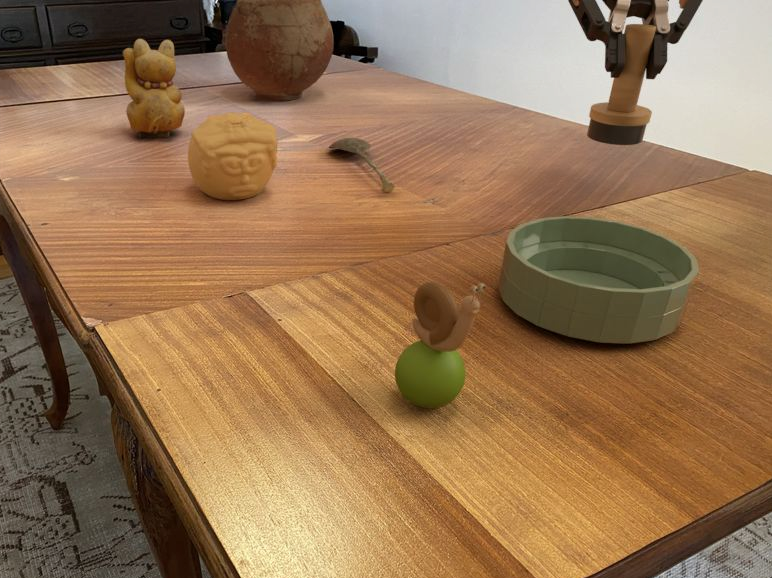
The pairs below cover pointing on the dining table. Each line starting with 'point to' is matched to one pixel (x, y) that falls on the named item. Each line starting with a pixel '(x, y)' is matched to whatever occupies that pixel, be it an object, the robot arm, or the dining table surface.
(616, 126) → the dish brush
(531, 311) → the bowl
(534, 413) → the dining table surface
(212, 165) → the sculpture
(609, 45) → the robot arm
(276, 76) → the jug
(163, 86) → the decorative figurine
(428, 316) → the snail figurine
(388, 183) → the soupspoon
